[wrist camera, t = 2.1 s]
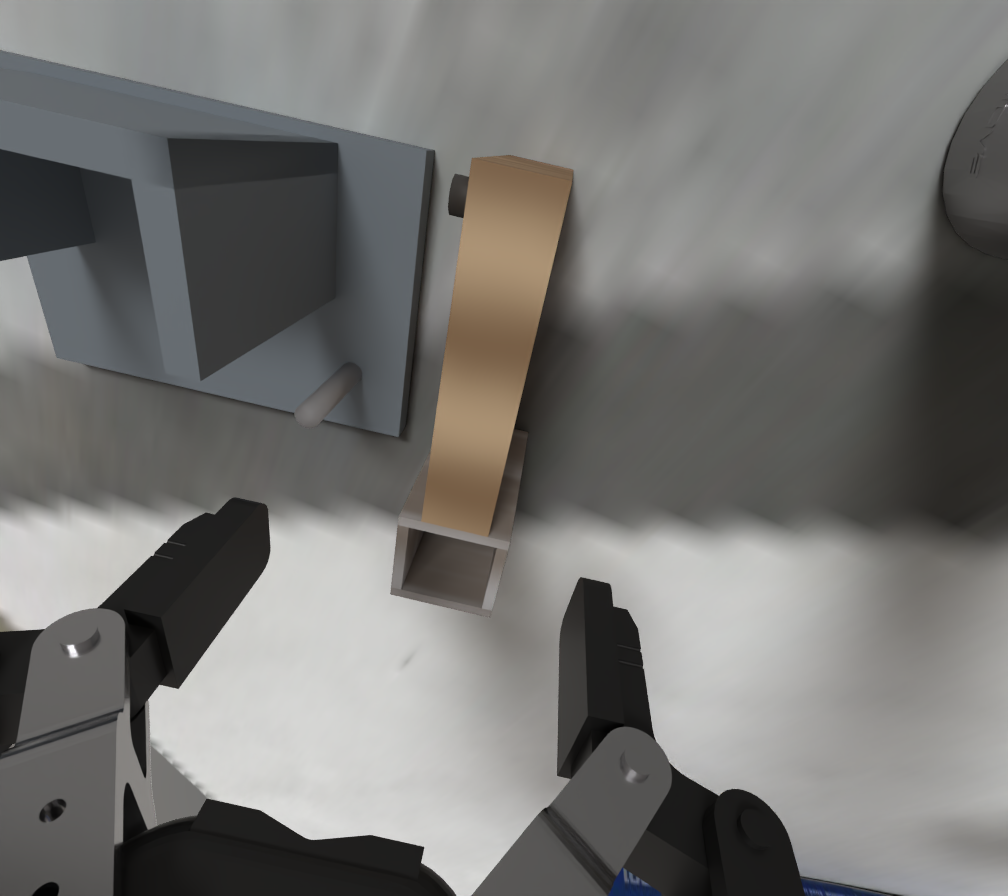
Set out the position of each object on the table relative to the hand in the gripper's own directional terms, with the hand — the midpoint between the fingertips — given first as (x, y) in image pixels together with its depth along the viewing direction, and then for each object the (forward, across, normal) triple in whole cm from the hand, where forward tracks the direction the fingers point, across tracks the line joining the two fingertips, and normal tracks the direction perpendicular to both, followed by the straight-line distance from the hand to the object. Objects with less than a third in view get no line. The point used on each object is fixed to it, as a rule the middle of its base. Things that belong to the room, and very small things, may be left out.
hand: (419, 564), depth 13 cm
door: (+18, 0, +1) cm, 18 cm away
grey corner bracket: (+18, +15, -1) cm, 23 cm away
